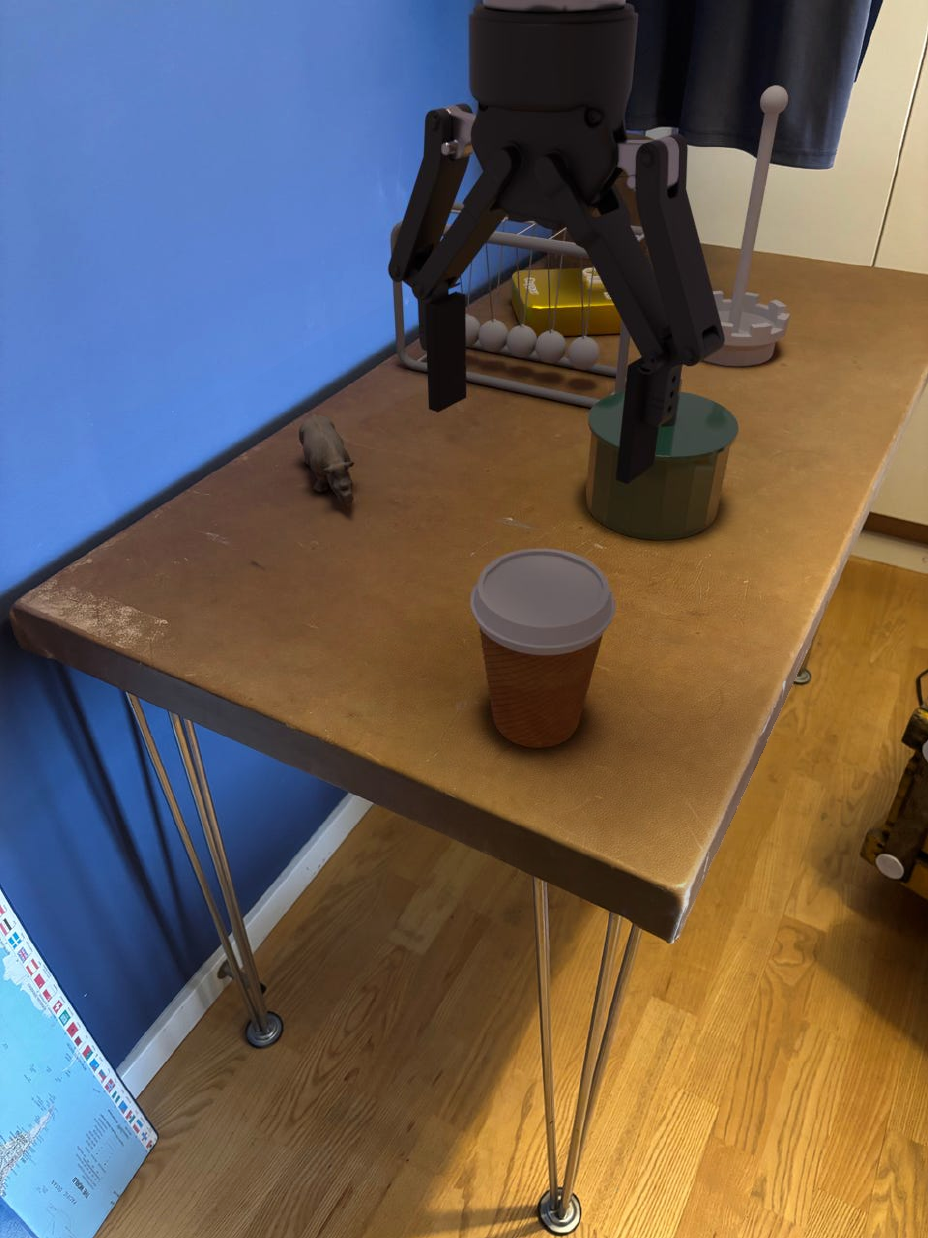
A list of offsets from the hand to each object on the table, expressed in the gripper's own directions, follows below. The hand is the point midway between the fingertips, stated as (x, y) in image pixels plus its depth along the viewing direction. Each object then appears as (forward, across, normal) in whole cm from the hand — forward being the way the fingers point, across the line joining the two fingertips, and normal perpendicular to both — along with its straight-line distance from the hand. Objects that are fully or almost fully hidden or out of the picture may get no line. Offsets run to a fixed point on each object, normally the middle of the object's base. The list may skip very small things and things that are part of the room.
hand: (535, 436), depth 53 cm
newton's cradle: (+22, -36, +47) cm, 63 cm away
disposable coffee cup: (+22, +1, 0) cm, 22 cm away
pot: (+22, -8, +31) cm, 39 cm away
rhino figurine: (+22, -34, +13) cm, 43 cm away
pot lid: (+14, -8, +31) cm, 34 cm away
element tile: (+22, -43, +67) cm, 82 cm away
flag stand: (+22, -20, +70) cm, 76 cm away
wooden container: (+22, -51, +86) cm, 103 cm away
